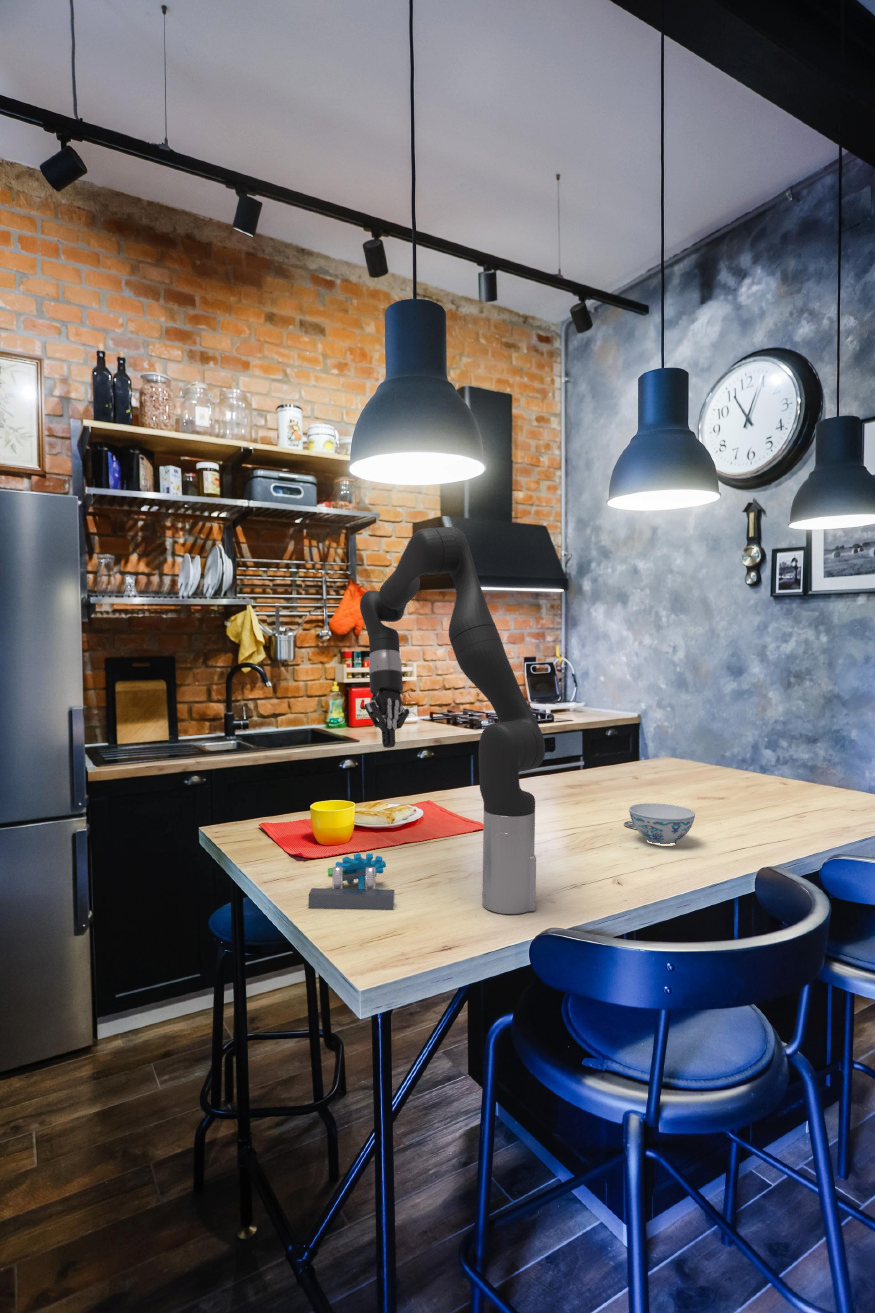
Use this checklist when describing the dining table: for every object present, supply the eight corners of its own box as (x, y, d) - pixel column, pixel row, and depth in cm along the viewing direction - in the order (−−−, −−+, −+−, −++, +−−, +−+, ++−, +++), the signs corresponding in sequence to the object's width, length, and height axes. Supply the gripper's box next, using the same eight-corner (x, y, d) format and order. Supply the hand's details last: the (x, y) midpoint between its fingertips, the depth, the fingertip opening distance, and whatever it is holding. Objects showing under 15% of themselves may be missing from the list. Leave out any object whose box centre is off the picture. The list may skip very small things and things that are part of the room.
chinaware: (615, 838, 174) (615, 806, 174) (661, 831, 181) (661, 801, 181) (660, 855, 161) (661, 821, 161) (708, 847, 168) (709, 814, 167)
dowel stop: (395, 899, 132) (395, 867, 131) (393, 909, 127) (393, 876, 127) (313, 898, 132) (313, 865, 132) (308, 908, 127) (308, 874, 127)
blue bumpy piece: (387, 871, 143) (383, 846, 135) (390, 899, 139) (386, 875, 131) (331, 879, 142) (324, 855, 134) (333, 908, 138) (325, 885, 130)
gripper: (377, 663, 158) (380, 741, 153) (416, 674, 168) (421, 747, 163) (353, 671, 162) (356, 747, 157) (393, 681, 172) (397, 752, 167)
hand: (389, 747), depth 160 cm, fingers closed
